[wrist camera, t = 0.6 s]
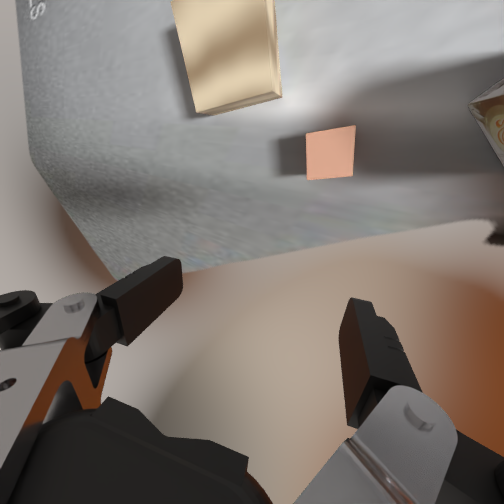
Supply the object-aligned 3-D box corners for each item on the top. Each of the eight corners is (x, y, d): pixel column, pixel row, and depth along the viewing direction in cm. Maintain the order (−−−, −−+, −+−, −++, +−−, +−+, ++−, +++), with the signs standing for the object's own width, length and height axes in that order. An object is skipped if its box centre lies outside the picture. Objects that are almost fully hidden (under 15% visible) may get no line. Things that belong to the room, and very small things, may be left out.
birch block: (196, 22, 26) (170, 1, 22) (273, -15, 23) (259, -48, 19) (215, 115, 31) (196, 112, 27) (282, 97, 27) (272, 91, 23)
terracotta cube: (310, 133, 28) (305, 133, 23) (352, 126, 26) (355, 125, 22) (311, 174, 30) (307, 180, 26) (350, 170, 28) (352, 176, 24)
